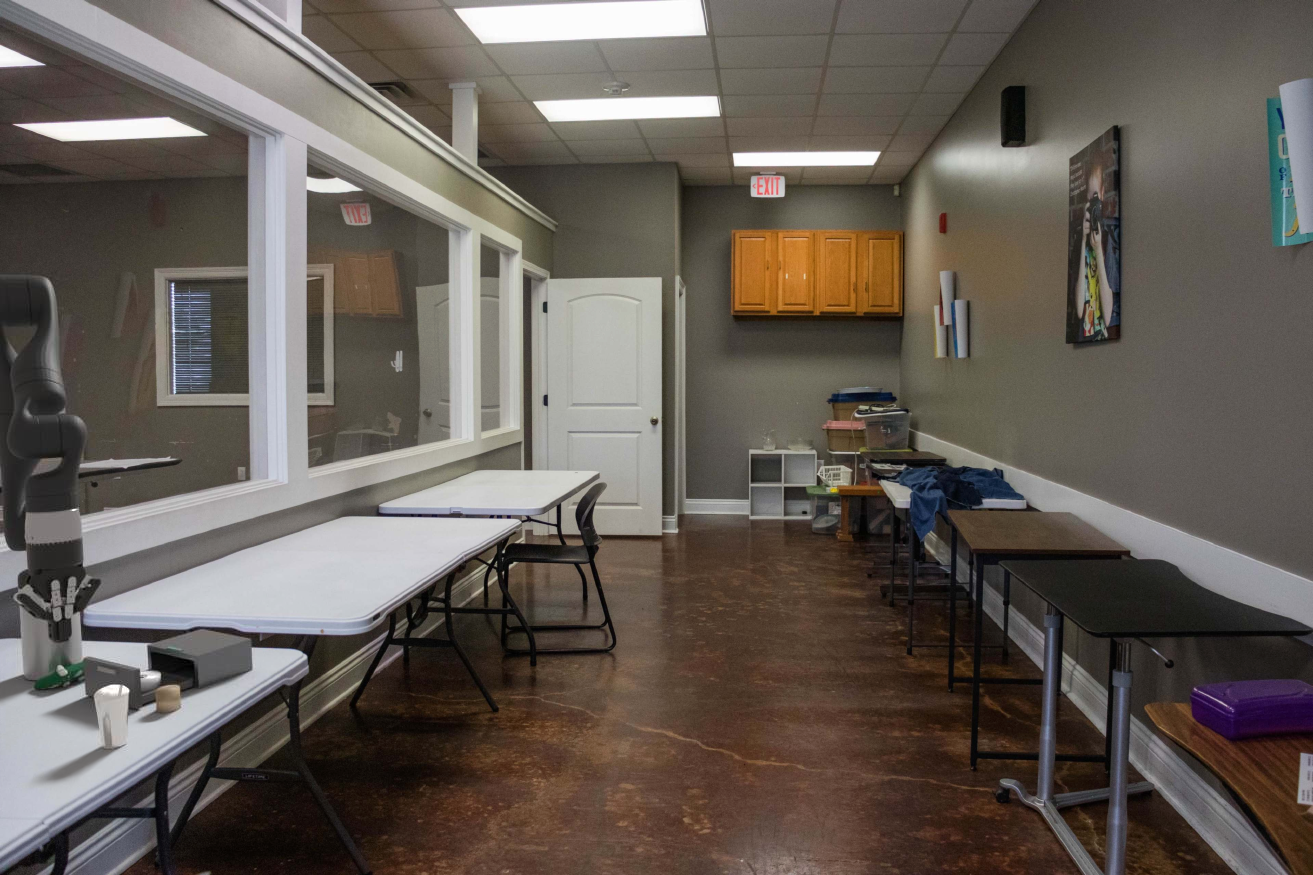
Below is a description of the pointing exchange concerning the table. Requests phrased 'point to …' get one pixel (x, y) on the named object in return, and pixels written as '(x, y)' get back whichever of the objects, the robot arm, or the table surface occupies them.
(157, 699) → the tan short cylinder
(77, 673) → the green toy
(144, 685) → the disc
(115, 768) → the table surface
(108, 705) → the milkshake
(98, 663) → the grey drawer
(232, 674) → the gray drawer box
